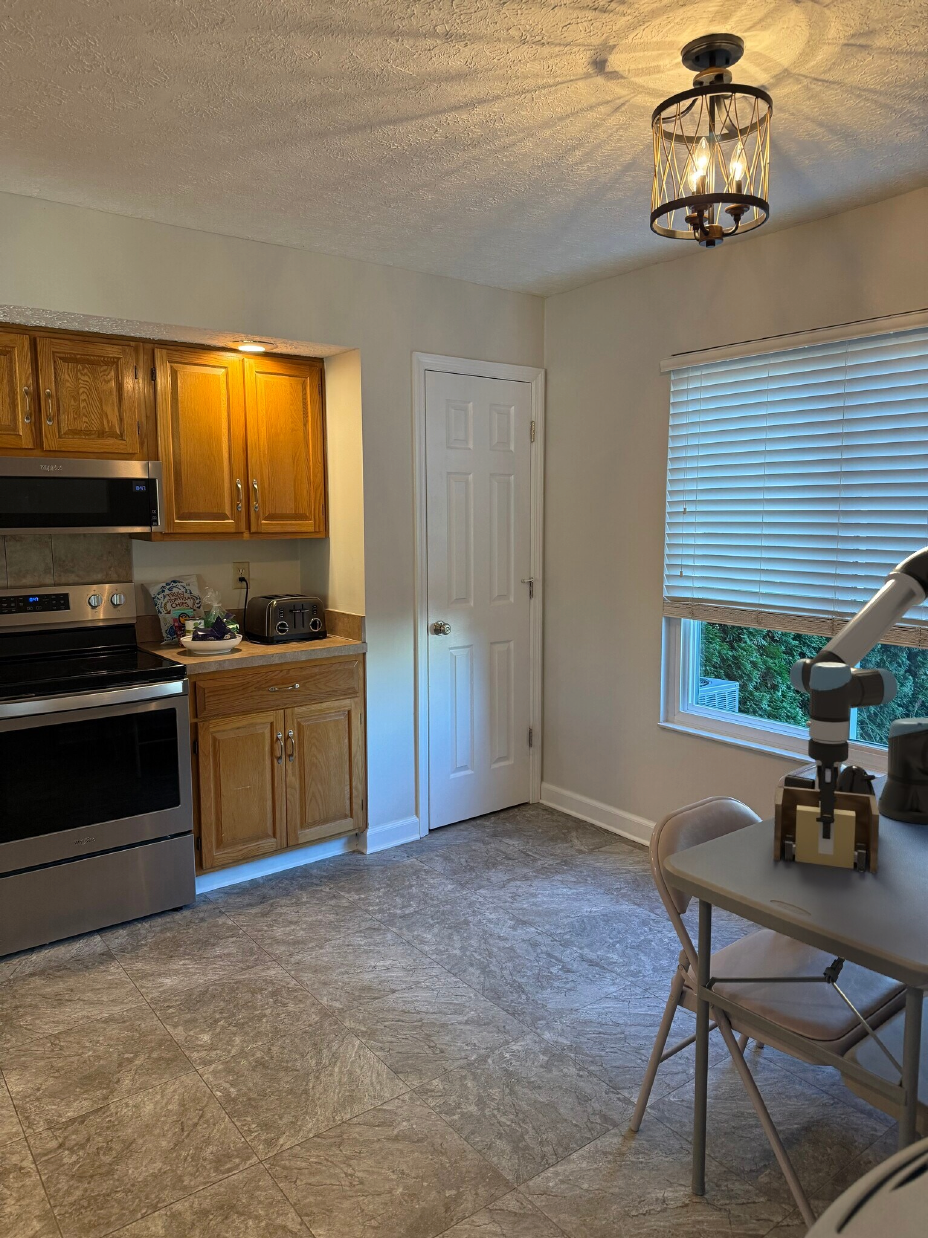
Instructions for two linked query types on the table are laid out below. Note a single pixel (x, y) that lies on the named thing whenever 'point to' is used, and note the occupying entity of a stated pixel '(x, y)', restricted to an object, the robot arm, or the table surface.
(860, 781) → the pump dispenser
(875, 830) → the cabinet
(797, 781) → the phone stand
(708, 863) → the table surface
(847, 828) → the yellow rectangular block
